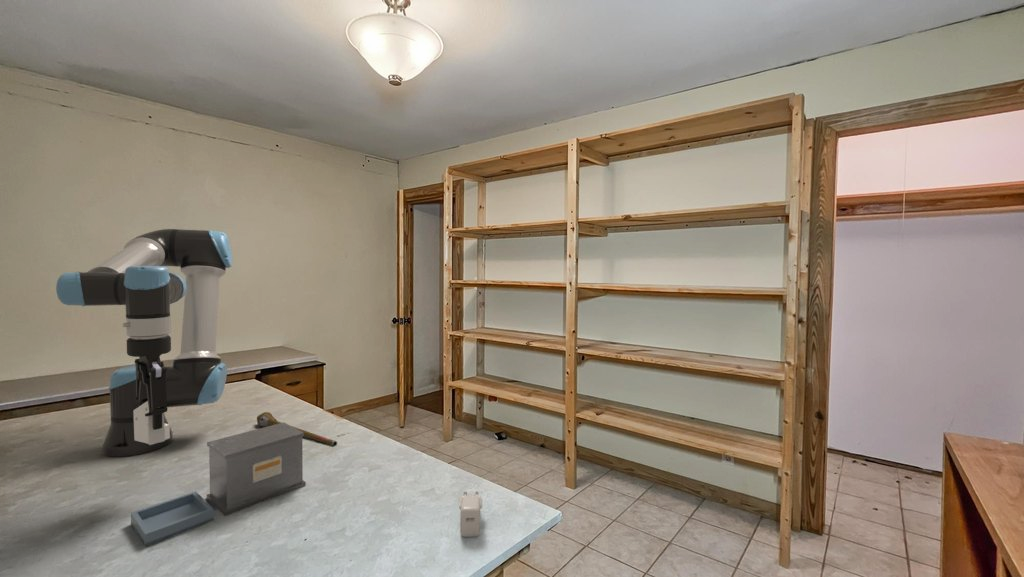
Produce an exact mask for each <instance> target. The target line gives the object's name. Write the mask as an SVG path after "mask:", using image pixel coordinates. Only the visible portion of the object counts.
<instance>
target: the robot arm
mask: <svg viewBox="0 0 1024 577" xmlns="http://www.w3.org/2000/svg"><path fill="white" fill-rule="evenodd" d="M232 266H233V254H232V249H231V245H230V240H229V238H228V235H227V234H226V233H225V232H223V231H218V230H217V231H216V230H210V229H208V230H203V229H200V230H199V229H183V228H181V229H176V228H164V229H156V230H153V231H150V232H149V231H148V232H147V233H143V234H141V235H138V236H136V237H134V238H132V239H130V240H129V241H128V242H126V243H125V245H124V247H123V249H122V250H120V251H118V252H116V253H115V254H114V255H112V256H111V257H109V258H107V259H106V260H104V261H103V262H101V263H99V264H98V265H96V266H95V267H92V269H91V268H90V270H88V271H86V272H85V271H83V272H82V271H81V272H80V271H73V272H72V271H71V272H64V273H62V274H61V275H60V276H59V277H58V279H57V281H56V286H55V290H56V292H55V293H56V294H57V299H58V300H59V302H60V303H62V304H63V305H67V306H78V307H79V306H82V307H87V306H89V307H90V306H91V307H92V306H94V307H95V306H99V307H100V306H125V318H126V319H125V321H126V322H123V323H122V327H123V328H126V336H128V337H129V338H127V339H126V354H127V355H128V356H129V357H132V358H133V357H134V358H135V360H134V364H133V365H128V366H125V367H121V368H119V369H116V370H115V371H113V372H112V373H111V374H110V377H109V387H108V390H109V408H110V425H109V427H108V430H107V432H106V436H105V437H104V441H103V442H102V454H103V455H104V456H106V457H113V458H114V457H117V458H118V457H129V456H136V455H142V454H145V453H149V452H152V451H156V450H159V449H161V448H163V447H166V446H167V445H169V444H170V443H171V442H173V440H174V439H173V430H172V428H171V427H170V438H169V439H166V440H165V428H164V423H165V424H169V421H168V420H167V417H166V415H165V413H167V412H168V408H179V407H187V406H190V407H191V406H203V405H207V404H214V403H216V402H218V401H219V400H220V399H221V397H222V395H223V392H224V390H225V386H226V381H227V375H228V373H227V371H228V366H227V365H226V364H225V363H223V362H222V357H220V356H219V355H218V354H217V353H216V346H217V329H218V328H217V327H218V306H219V293H220V292H219V291H220V290H219V289H220V279H221V278H222V277H223V276H225V274H226V269H229V268H231V267H232ZM168 267H175V268H176V267H180V268H179V269H180V270H179V272H180V273H182V274H183V275H184V276H185V279H184V278H183V277H182V276H180V275H178V274H177V273H172V272H170V270H169V268H168ZM183 297H184V301H183V313H182V325H181V326H182V328H181V342H180V351H179V352H180V353H179V354H178V355H177V356H176V357H175V358H174V359H173V361H172V366H165V364H164V362H163V361H161V356H162V355H165V354H168V353H170V352H171V350H172V338H171V335H169V334H171V333H172V328H171V326H172V323H171V322H172V320H171V305H172V304H174V303H176V302H178V301H180V300H181V299H182V298H183ZM138 357H139V358H138ZM147 401H148V407H149V413H146V414H145V416H148V444H147V443H143V442H139V441H135V440H134V413H133V410H135V409H136V408H138V407H139V406H141V405H142V404H144V403H145V402H147ZM151 444H152V445H151Z"/></svg>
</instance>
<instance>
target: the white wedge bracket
mask: <svg viewBox="0 0 1024 577" xmlns="http://www.w3.org/2000/svg"><path fill="white" fill-rule="evenodd" d="M133 413H134V440H135V441H139V442H143V443H147V444H148V416H145V414H146V413H149V407H148V401H147V402H145V403H144V404H142V405H141V406H139V407H138V408H136V409H135V410H133ZM164 428H165V440H166V439H169V438H170V428H171V426H170V424H169V423H168V424H165V423H164ZM151 445H152V444H151Z"/></svg>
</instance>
